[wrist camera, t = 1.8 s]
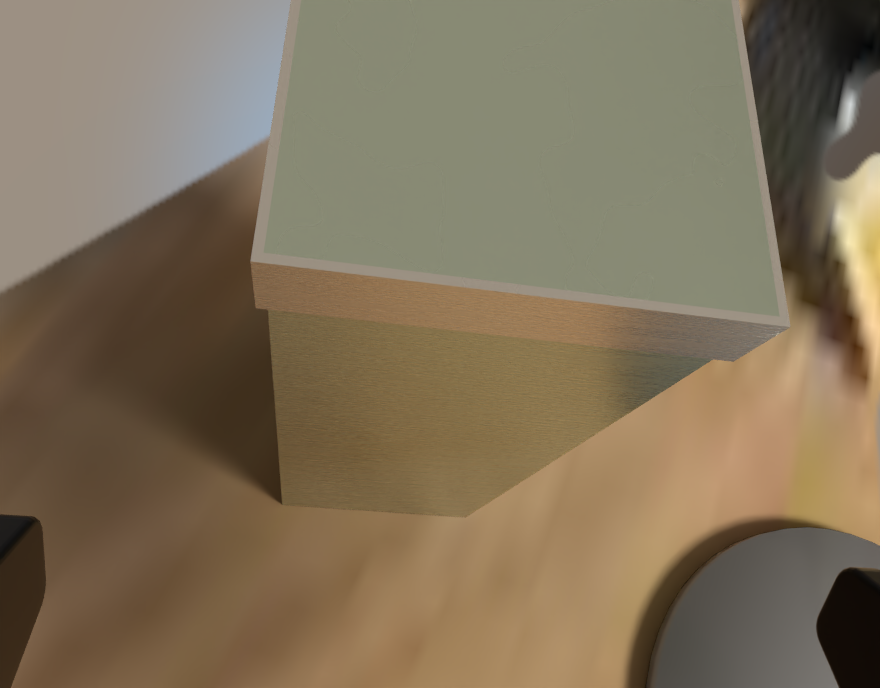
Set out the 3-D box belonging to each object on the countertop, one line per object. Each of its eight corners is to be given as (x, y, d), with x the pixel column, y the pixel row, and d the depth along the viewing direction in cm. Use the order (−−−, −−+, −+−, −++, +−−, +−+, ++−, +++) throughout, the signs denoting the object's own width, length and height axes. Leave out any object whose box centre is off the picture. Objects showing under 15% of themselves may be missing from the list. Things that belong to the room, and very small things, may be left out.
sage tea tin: (468, 521, 20) (789, 326, 7) (278, 508, 19) (250, 261, 6) (473, 346, 22) (730, -52, 9) (299, 328, 21) (313, -141, 8)
